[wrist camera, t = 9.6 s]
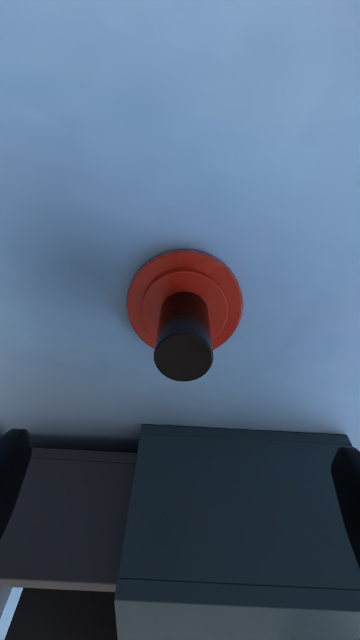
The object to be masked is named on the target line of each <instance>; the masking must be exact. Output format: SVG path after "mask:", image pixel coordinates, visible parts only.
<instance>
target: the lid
mask: <svg viewBox="0 0 360 640" xmlns="http://www.w3.org/2000/svg"><path fill="white" fill-rule="evenodd" d="M242 307H243V302H242V294H241V290H240V287H239V285H238V282H237V280H236V278H235V276H234V275H233V273H232V272H231V271H230V269H229V268H228V267H227V266H226V265H225V264H224V263H222V262H221V261H220V260H218V259H217V258H215V257H213V256H212V255H209V254H207V253H204V252H200V251H197V250H189V249H180V250H172V251H169V252H165V253H162V254H160V255H158V256H156V257H154V258H152V259H151V260H149V261H148V262H147V263H145V264H144V265H143V266H142V267H141V268H140V269H139V271H138V272H137V273H136V275H135V277H134V278H133V280H132V283H131V285H130V288H129V291H128V295H127V313H128V317H129V320H130V323H131V325H132V327H133V329H134V330H135V332H136V333H137V334H138V336H139V337H140V338H141V339H142V340H143V341H144V342H145V343H147V344H148V345H149V346H151V347H152V348H154V349H155V350H154V361H155V364H156V366H157V368H158V369H159V371H160V372H161V373H162V374H163V375H165V376H166V377H168V378H170V379H173V380H176V381H191V380H195V379H197V378H200V377H201V376H203V375H204V374H205V373H206V372H207V371H208V370H209V369H210V367H211V365H212V362H213V350H214V349H215V348H217V347H219V346H220V345H222V344H223V343H224V342H225V341H226V340H227V339H228V338H229V337H230V336H231V335H232V334H233V332H234V331H235V329H236V327H237V326H238V324H239V321H240V318H241V314H242Z"/></svg>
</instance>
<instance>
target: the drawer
mask: <svg viewBox="0 0 360 640" xmlns="http://www.w3.org/2000/svg"><path fill="white" fill-rule="evenodd" d="M136 458H137V453H127V452H107V451H88V450H69V449H50V448H32V455H31V459H30V462H29V465H28V468H27V471H26V474H25V477H24V480H23V484H22V487H21V490H20V493H19V496H18V499H17V502H16V505H15V508H14V510H13V513H12V515H11V518H10V520H9V522H8V525H7V527H6V529H5V531H4V534H3V536H2V538H1V540H0V618H1V615H2V613H3V610H4V607H5V605H6V602H7V600H8V597H9V595H10V592H11V589H12V587H21V588H23V591H22V593H21V596H20V599H19V602H18V604H17V607H16V610H15V613H14V615H13V618H12V621H11V624H10V626H9V629H8V632H7V635H6V637H5V640H118V638H117V627H116V616H115V604H114V597H115V590H116V584H117V579H118V572H119V565H120V559H121V553H122V547H123V540H124V534H125V528H126V521H127V515H128V509H129V502H130V496H131V490H132V484H133V477H134V471H135V465H136Z"/></svg>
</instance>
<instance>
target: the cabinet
mask: <svg viewBox="0 0 360 640" xmlns="http://www.w3.org/2000/svg"><path fill="white" fill-rule="evenodd" d="M340 446H347V447H353V446H352V444H351V442H350V440H349V438H348V437H347V435H335V434H316V433H297V432H278V431H259V430H240V429H221V428H202V427H183V426H164V425H145V424H142V427H141V433H140V439H139V446H138V452H137V458H136V465H135V471H134V477H133V484H132V490H131V496H130V502H129V509H128V515H127V521H126V528H125V534H124V540H123V547H122V553H121V559H120V565H119V572H118V579H117V584H116V590H115V597H114V604H115V616H116V627H117V638H118V640H360V569H359V566H358V564H357V561H356V558H355V555H354V552H353V550H352V547H351V544H350V541H349V538H348V535H347V532H346V529H345V526H344V523H343V519H342V515H341V511H340V507H339V503H338V499H337V495H336V491H335V487H334V483H333V479H332V475H331V464H332V461H333V459H334V456H335V454H336V451H337V449H338V448H339V447H340Z"/></svg>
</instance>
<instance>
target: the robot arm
mask: <svg viewBox="0 0 360 640" xmlns="http://www.w3.org/2000/svg"><path fill="white" fill-rule="evenodd" d="M31 455H32V447H31V442H30V438H29V433H28V431H27V430H26V429H11V430H10V431H8V432H7V433H6V434H4V435H3V436H2V437H0V540H1V538H2V536H3V534H4V531H5V529H6V527H7V525H8V522H9V520H10V518H11V515H12V513H13V510H14V508H15V505H16V502H17V499H18V496H19V493H20V490H21V487H22V484H23V480H24V477H25V474H26V471H27V468H28V465H29V462H30V459H31ZM331 475H332V479H333V483H334V487H335V491H336V495H337V499H338V503H339V507H340V511H341V515H342V519H343V523H344V526H345V529H346V532H347V535H348V538H349V541H350V544H351V547H352V550H353V552H354V555H355V558H356V561H357V564H358V566H359V569H360V452H359V451H358V450H357V449H356V448H354V447H347V446H340V447H339V448H338V449H337V451H336V454H335V456H334V459H333V461H332V464H331Z"/></svg>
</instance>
